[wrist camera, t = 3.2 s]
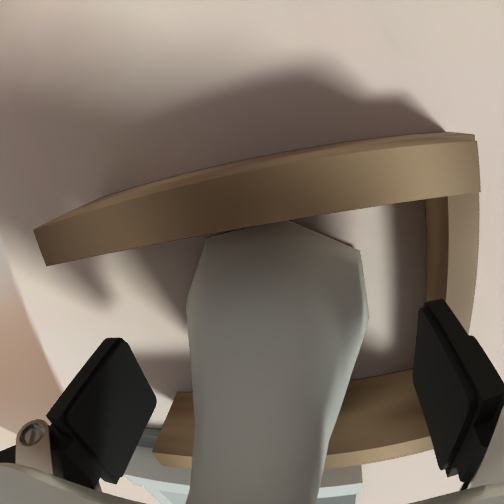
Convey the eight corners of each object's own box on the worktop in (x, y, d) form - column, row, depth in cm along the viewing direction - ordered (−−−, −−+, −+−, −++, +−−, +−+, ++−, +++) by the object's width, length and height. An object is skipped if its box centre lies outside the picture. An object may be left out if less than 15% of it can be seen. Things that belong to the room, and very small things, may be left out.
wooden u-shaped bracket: (446, 131, 9) (512, 139, 5) (438, 379, 13) (462, 440, 9) (100, 198, 12) (33, 229, 8) (185, 407, 15) (162, 465, 12)
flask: (184, 210, 11) (-40, 422, 2) (385, 226, 11) (548, 489, 1) (193, 363, 14) (113, 560, 5) (349, 378, 13) (366, 591, 4)
